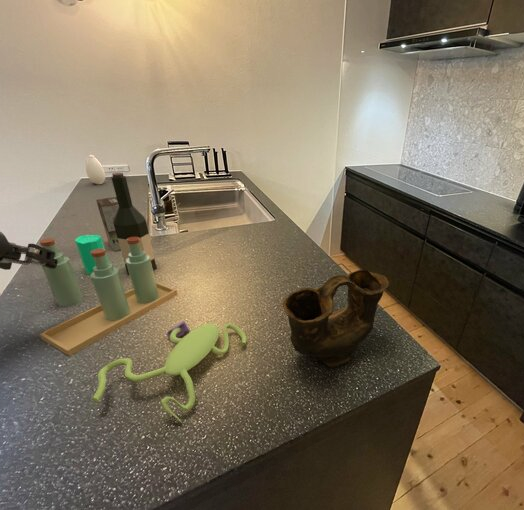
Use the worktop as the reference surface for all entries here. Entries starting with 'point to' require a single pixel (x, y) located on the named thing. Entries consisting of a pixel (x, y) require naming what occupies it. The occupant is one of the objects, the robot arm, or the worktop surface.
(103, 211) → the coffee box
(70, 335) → the tray
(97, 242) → the green polygonal prism
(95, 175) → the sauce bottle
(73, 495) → the worktop surface
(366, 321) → the pottery vessel
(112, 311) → the tray bottles
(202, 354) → the figurine
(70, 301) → the loose bottle
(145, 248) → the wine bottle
